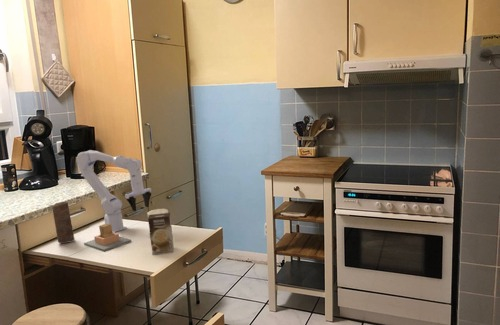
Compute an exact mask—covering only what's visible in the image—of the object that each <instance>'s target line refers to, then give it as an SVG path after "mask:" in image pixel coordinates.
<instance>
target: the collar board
mask: <svg viewBox="0 0 500 325" xmlns="http://www.w3.org/2000/svg"><path fill="white" fill-rule="evenodd" d="M112 233H113V235H112V236H109V237H106V238H102V237H101V235H100V234H98V235H96V236H95V235H94V239H92V240H88V241H85V242H83V245H84V246H86V247H88V248H93V249H95V250H98V251H102V252H105V253H106V252H107V251H110V250H113V249H115V248H117V247H118V248H119V247H121V246H124V245H126V244H129V243H131V242H132V239H129V238H126V237H124V236H120V234H119V233H117V232H112Z"/></svg>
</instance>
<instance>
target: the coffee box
mask: <svg viewBox="0 0 500 325" xmlns="http://www.w3.org/2000/svg"><path fill="white" fill-rule="evenodd" d="M147 221H148V227H149V228H148V229H149V236H150V244H151V245H150V246H151V255H152V256H155V255H163V254H169V253H174V249H175V248H174V246H175V245H174V239H173V238H174V236H173V230H172V229H173V227H172V221H171V213H170V212H168V213H162V214H153V215H149V217H148V216H147Z"/></svg>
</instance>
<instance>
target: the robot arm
mask: <svg viewBox="0 0 500 325" xmlns="http://www.w3.org/2000/svg"><path fill="white" fill-rule="evenodd" d="M75 161H76V163H77V165H78V168H79V172H80V174H81V175H82V177H83V179H85V180H86V181H87V183H88V184H89V186H90V188H92V190H93V191H94V193H96V195H97V196H98V197H99V199H100V201H101V202H100V205H101V207H102V208H103V211H104V213H105V214H104V216H103V218H104V224H106V223H107V224H111V226H112V232H113V233H117V232H120V231H124V230H125V229H127V228H128V227H127V226H124V223H123V222H124V221H123V216H122V215H123V214H122V208H123V201H122V200H121V199H119V198H118V197H117V196H116V195H114V194H112V193H110V191H109V190H108V188H107V187H106V185H105V184H104V183H103V182H102V180H101V179H100V178H99V177H98V175H97V174H96V173H95V171H94V169H93V167H94V164H95V162H97V161H102V162H105V163H110V164H113V166H115V167H117V168H121V169H124V170H127V171H128V173H129V179H130V184H131V190H132V192H129V193H126V194H125V195H124V198H125V199H126V201H127V202H128V203H129V205H130V207H131V208H132V211H133V212H136V211H137V205H136V203H137V202H136V201H137V198H136V197H138V196H142V197H143V198H142V199H143V201H144V202H143V203H144V207H145V208H149V206H150V199H151V196H152V188H151V187H148V188H145V187H144V183H143V182H144V181H143V175H142V166H143V165H142V162H141V160H140V159H137V158H134V159H133V158H132V157H125V156H124V155H123V154H120V155H116V156H113V155H109V154H107V153H104V152H101V151H98V150H92V149H89V150H87V151H81V152H79V153H78V154H77V157H76V160H75Z"/></svg>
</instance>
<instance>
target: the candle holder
mask: <svg viewBox="0 0 500 325" xmlns="http://www.w3.org/2000/svg"><path fill="white" fill-rule="evenodd" d="M162 213H169V210H168V209H166V208H156V209H152V210H150V211H147V213H146V216H147V218H148V217H149V215H153V214H162Z"/></svg>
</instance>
